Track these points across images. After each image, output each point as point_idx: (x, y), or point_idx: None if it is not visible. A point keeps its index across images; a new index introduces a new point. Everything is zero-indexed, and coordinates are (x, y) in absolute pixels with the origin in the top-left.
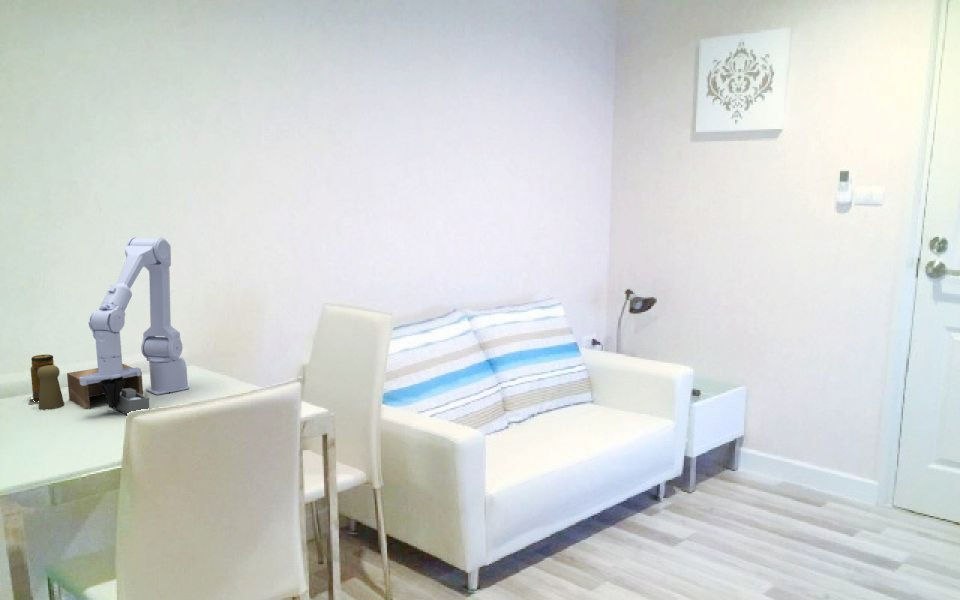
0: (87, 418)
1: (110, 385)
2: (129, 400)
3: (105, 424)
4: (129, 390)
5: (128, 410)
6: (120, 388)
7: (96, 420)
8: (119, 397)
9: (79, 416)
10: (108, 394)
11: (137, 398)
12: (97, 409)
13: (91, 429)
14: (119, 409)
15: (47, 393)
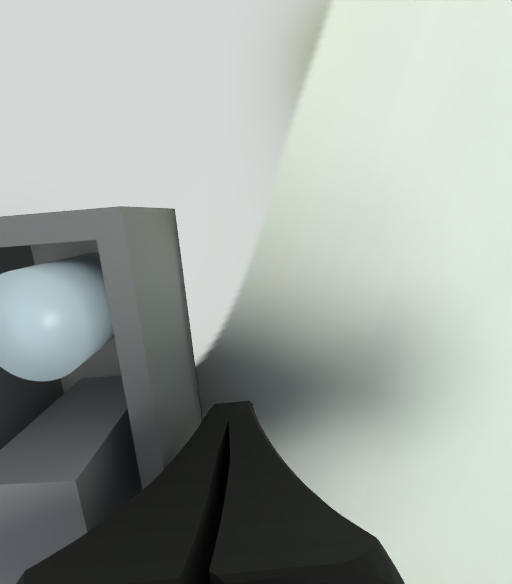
0: (412, 382)
1: (297, 560)
2: (113, 223)
3: (375, 139)
4: (31, 521)
5: (163, 228)
6: (128, 517)
7: (386, 295)
8: None
9: (431, 458)
10: (296, 476)
11: (12, 317)
12: None
13: (501, 70)
14: (196, 405)
15: None
